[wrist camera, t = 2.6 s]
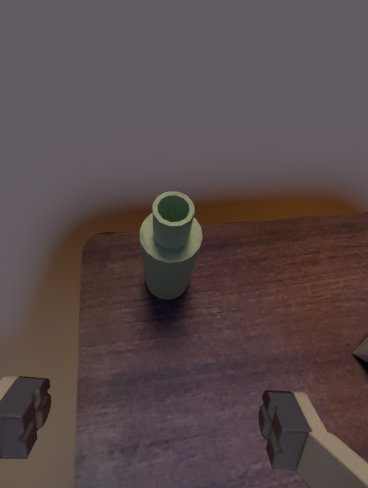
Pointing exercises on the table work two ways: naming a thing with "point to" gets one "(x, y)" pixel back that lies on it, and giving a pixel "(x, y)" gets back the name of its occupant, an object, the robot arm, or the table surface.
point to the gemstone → (362, 350)
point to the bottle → (170, 245)
